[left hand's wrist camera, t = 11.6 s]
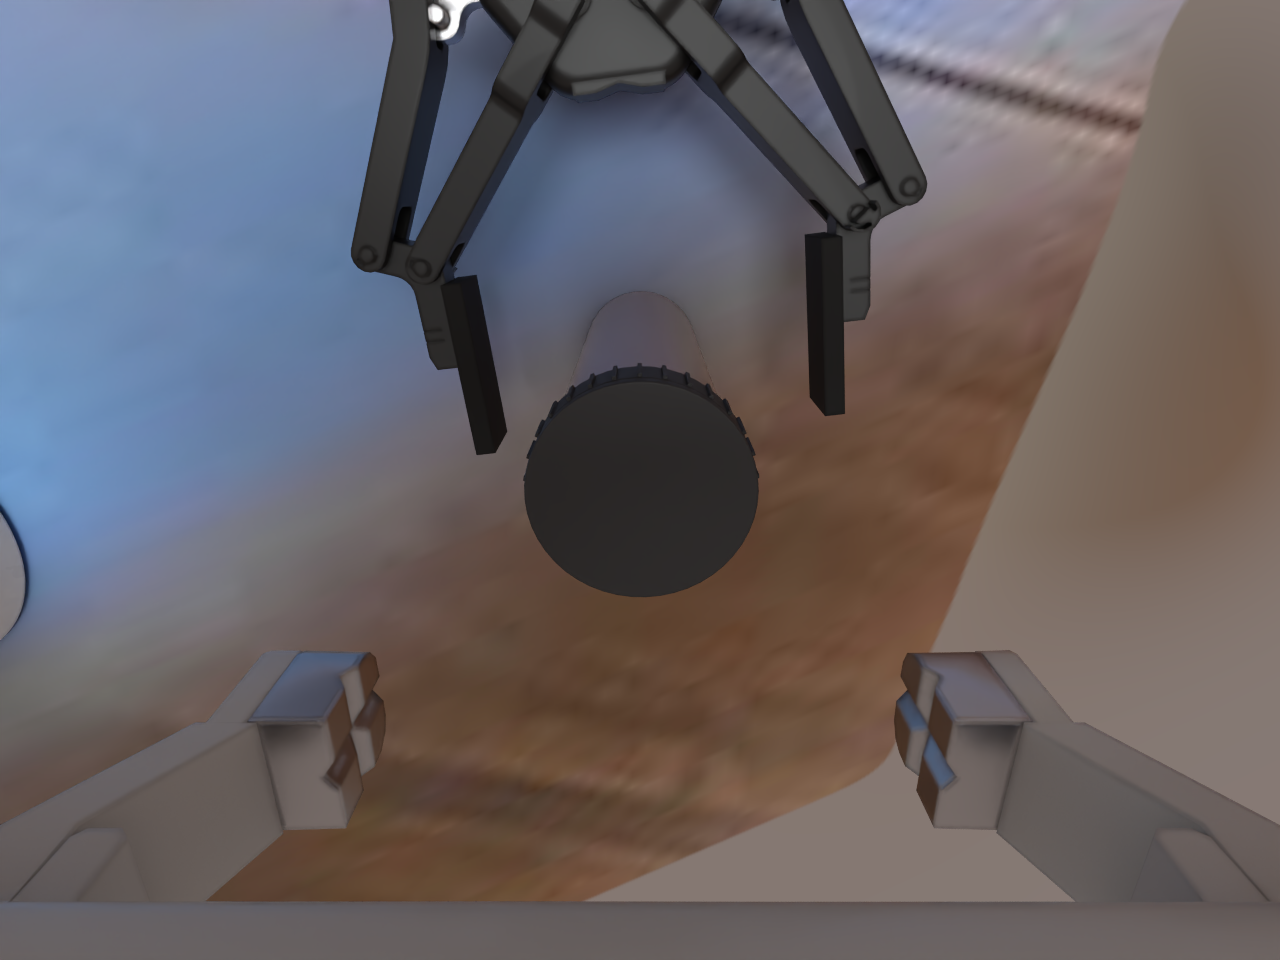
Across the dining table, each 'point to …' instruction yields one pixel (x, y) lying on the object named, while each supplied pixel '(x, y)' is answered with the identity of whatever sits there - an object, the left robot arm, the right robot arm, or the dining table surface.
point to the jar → (641, 339)
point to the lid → (641, 482)
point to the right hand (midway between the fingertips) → (657, 425)
